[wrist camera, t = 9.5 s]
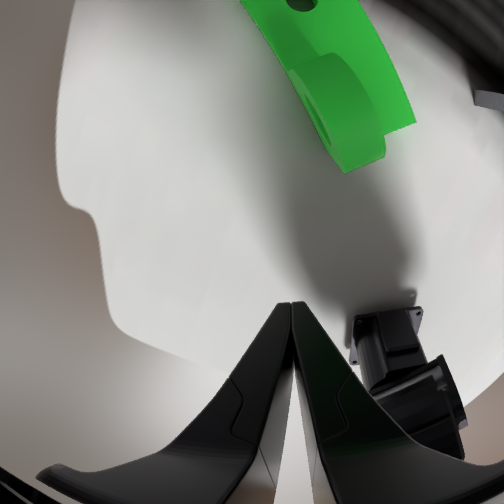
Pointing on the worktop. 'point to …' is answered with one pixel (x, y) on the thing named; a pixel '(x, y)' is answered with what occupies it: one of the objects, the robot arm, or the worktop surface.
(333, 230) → the worktop surface
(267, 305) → the worktop surface
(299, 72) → the mechanical part
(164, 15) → the worktop surface
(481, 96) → the seating bracket
